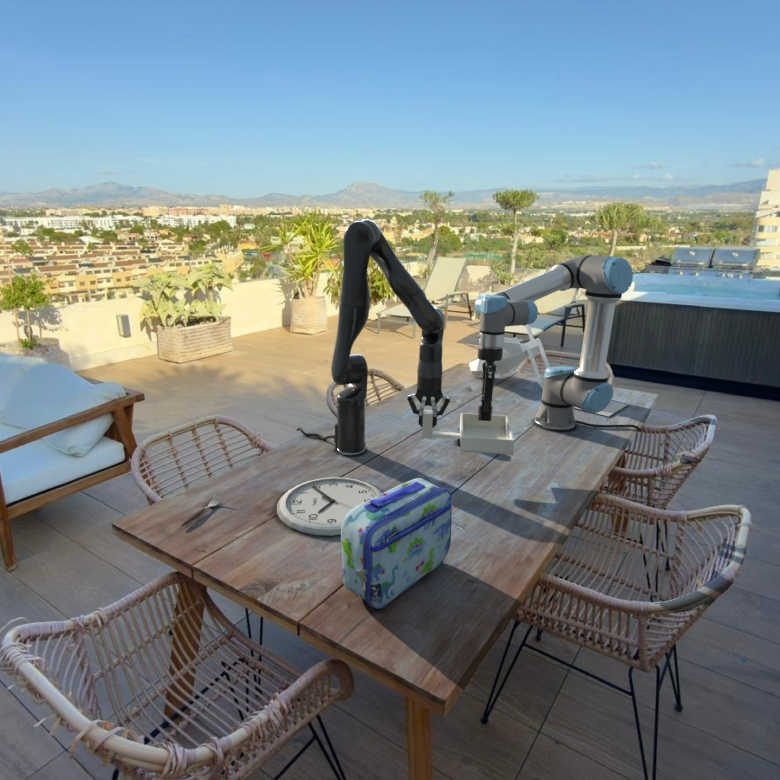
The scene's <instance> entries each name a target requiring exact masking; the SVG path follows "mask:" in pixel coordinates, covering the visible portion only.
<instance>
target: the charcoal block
mask: <svg viewBox="0 0 780 780" xmlns="http://www.w3.org/2000/svg"><path fill="white" fill-rule="evenodd" d="M457 433H460V427H457ZM456 440H457V441H456V446H460V439H456Z"/></svg>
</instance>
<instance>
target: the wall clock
mask: <svg viewBox="0 0 780 780" xmlns="http://www.w3.org/2000/svg"><path fill="white" fill-rule="evenodd" d="M382 493H383V492H382V491H381V490H380V489H379V488H377V487H376V486H375V485H372V484H371V483H369V482H366V481H363V480H359V479H355V478H349V477H338V476H337V477H335V476H333V477H332V476H331V477H322V478H317V479H312V480H307V481H305V482H302V483H299V484H297V485H295V486H294V487H292V488H290V489H288V490H287V491H286V492H285V493H284V494H283V495H281V497H280V498H279V500H278V502H277V503H276V515H277V516H278V518H279V520H280V521H281V522H282V523H283V524H285V525H286V526H287V527H288V528H290V529H293V530H295V531H297V532H300V533H304V534H308V535H312V536H313V535H314V536H327V537H328V536H329V537H331V536H341V528H342V523H343V520H344V518H345V517H346V515H347V514H348V512H349V511H350V510H351V509H353V508H354V507H356V506H358V505H360V504H362V503H364V502H366V501H368V500H370V499H372V498H374V497H376V496H378V495H380V494H382Z"/></svg>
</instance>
